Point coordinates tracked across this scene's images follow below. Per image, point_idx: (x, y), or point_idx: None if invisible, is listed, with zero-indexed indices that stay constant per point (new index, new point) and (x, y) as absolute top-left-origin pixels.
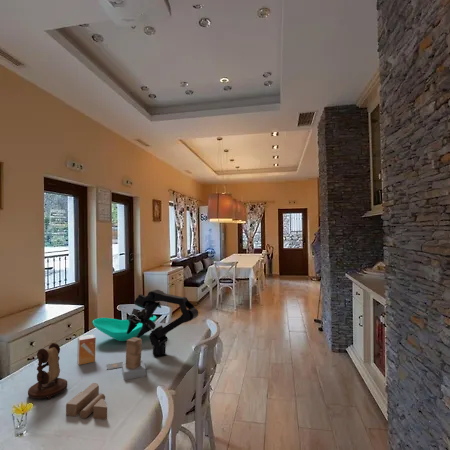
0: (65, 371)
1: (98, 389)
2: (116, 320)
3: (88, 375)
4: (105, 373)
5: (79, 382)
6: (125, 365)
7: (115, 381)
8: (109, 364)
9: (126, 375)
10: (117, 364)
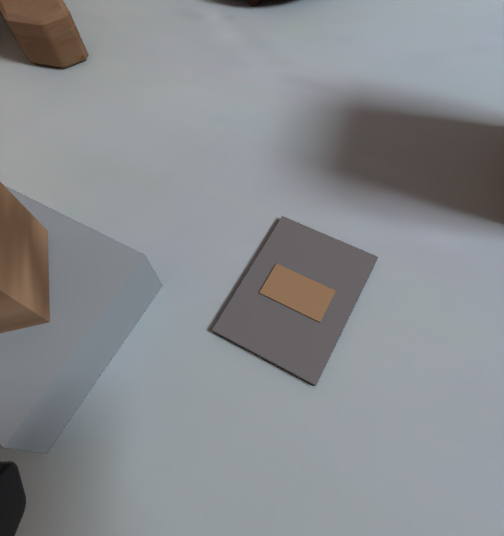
0: (480, 54)
1: (12, 32)
2: None
3: (302, 112)
4: (235, 188)
5: (253, 56)
6: (85, 254)
7: (69, 176)
8: (359, 272)
9: None
10: (301, 318)
